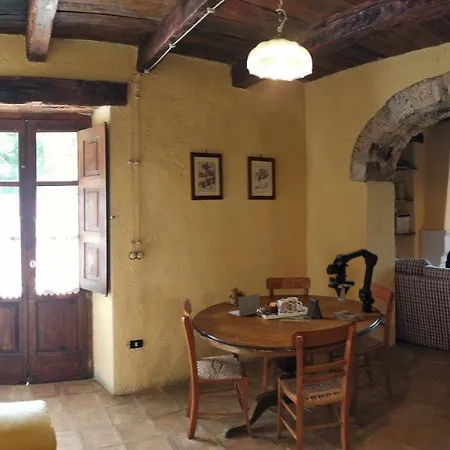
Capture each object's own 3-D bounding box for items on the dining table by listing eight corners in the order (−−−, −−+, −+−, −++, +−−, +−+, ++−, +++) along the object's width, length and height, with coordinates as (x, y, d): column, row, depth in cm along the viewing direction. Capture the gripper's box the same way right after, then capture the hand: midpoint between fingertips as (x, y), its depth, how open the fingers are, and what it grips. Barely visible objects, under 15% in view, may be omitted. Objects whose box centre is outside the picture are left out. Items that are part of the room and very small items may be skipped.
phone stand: (311, 319, 315) (311, 300, 315) (305, 317, 321) (305, 299, 320) (322, 317, 319) (322, 299, 319) (317, 315, 325) (316, 297, 324)
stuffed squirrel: (225, 304, 366) (225, 286, 365) (240, 301, 374) (239, 284, 373) (233, 306, 358) (233, 288, 357) (248, 303, 366) (248, 286, 365)
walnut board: (346, 314, 326) (346, 310, 325) (364, 319, 312) (364, 314, 312) (333, 317, 319) (333, 312, 319) (351, 322, 306) (351, 317, 306)
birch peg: (341, 300, 327) (341, 287, 326) (346, 301, 323) (346, 288, 322) (336, 301, 325) (336, 288, 324) (341, 302, 321) (341, 289, 320)
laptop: (248, 309, 348) (248, 291, 347) (259, 312, 338) (259, 293, 337) (228, 313, 337) (227, 294, 336) (239, 316, 327) (239, 297, 326)
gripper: (343, 271, 334) (343, 293, 335) (322, 273, 325) (322, 296, 326) (355, 273, 325) (355, 296, 326) (334, 275, 315) (334, 299, 316)
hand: (341, 297), depth 324 cm, fingers closed on birch peg, 4 cm apart
